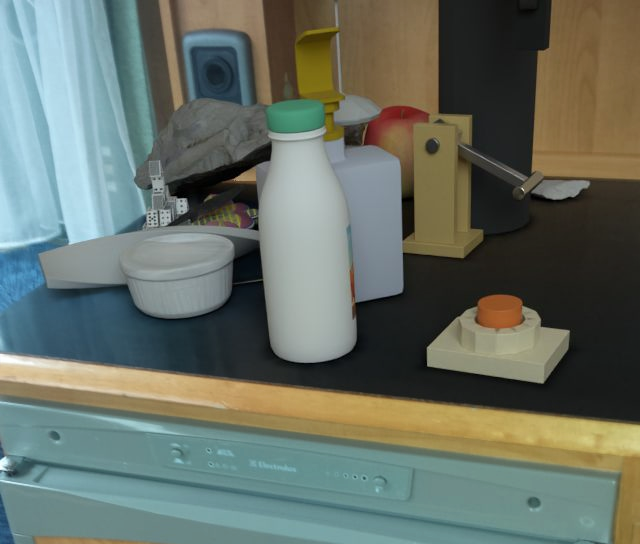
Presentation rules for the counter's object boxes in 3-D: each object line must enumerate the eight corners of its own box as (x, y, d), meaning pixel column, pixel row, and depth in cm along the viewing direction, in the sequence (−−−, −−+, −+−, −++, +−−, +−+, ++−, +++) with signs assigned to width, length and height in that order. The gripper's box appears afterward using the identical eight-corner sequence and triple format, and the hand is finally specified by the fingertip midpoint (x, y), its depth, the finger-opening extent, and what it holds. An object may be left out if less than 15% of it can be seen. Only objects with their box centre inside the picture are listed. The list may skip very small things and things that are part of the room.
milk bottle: (350, 366, 85) (336, 113, 74) (262, 365, 87) (234, 117, 75) (363, 329, 91) (351, 91, 80) (280, 329, 93) (257, 95, 81)
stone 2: (522, 189, 122) (523, 172, 121) (584, 185, 122) (586, 168, 120) (528, 208, 118) (529, 191, 117) (592, 203, 118) (594, 186, 116)
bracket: (483, 240, 109) (486, 114, 101) (463, 258, 105) (465, 128, 97) (423, 235, 112) (422, 111, 104) (401, 252, 108) (398, 125, 100)
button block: (568, 349, 85) (571, 309, 83) (543, 383, 80) (545, 342, 78) (457, 334, 89) (457, 296, 87) (426, 366, 84) (426, 327, 82)
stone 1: (265, 157, 109) (252, 57, 106) (115, 199, 128) (101, 115, 125) (356, 158, 119) (346, 66, 116) (204, 196, 138) (192, 119, 136)
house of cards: (215, 238, 115) (205, 169, 111) (140, 243, 116) (128, 174, 111) (222, 215, 123) (214, 148, 118) (152, 219, 123) (141, 153, 119)
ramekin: (234, 276, 105) (228, 225, 102) (246, 315, 96) (240, 260, 93) (127, 290, 104) (117, 239, 101) (128, 331, 95) (118, 276, 92)
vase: (529, 235, 109) (546, -94, 92) (435, 236, 111) (435, -86, 93) (528, 206, 117) (544, -101, 100) (441, 208, 119) (442, -94, 102)
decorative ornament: (272, 233, 108) (181, 254, 108) (275, 252, 110) (186, 272, 109) (250, 181, 121) (169, 200, 120) (253, 199, 122) (173, 217, 122)
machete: (247, 186, 112) (250, 192, 113) (237, 177, 114) (239, 182, 115) (133, 257, 111) (136, 262, 112) (125, 246, 113) (128, 251, 114)
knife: (209, 290, 103) (208, 287, 103) (208, 285, 104) (208, 282, 104) (305, 278, 103) (304, 275, 103) (303, 273, 104) (303, 270, 104)
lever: (537, 191, 103) (548, 169, 102) (519, 208, 99) (529, 186, 97) (437, 136, 105) (446, 113, 103) (415, 150, 101) (424, 128, 99)
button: (527, 317, 83) (528, 296, 82) (513, 333, 81) (514, 313, 80) (486, 312, 85) (486, 292, 84) (470, 328, 82) (471, 308, 81)
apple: (348, 199, 124) (344, 112, 118) (401, 181, 129) (399, 97, 123) (405, 213, 118) (403, 122, 112) (458, 193, 123) (459, 105, 117)
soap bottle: (286, 318, 94) (260, 41, 81) (266, 295, 100) (238, 31, 86) (406, 295, 97) (400, 22, 83) (380, 274, 102) (371, 14, 89)
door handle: (303, 255, 106) (290, 264, 110) (294, 206, 105) (282, 216, 110) (49, 293, 99) (47, 300, 103) (37, 240, 98) (36, 249, 103)
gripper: (528, -288, 82) (516, 36, 96) (469, -296, 73) (465, 62, 87) (621, -300, 79) (594, 36, 93) (571, -311, 70) (549, 63, 84)
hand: (531, 48), depth 90 cm, fingers closed
